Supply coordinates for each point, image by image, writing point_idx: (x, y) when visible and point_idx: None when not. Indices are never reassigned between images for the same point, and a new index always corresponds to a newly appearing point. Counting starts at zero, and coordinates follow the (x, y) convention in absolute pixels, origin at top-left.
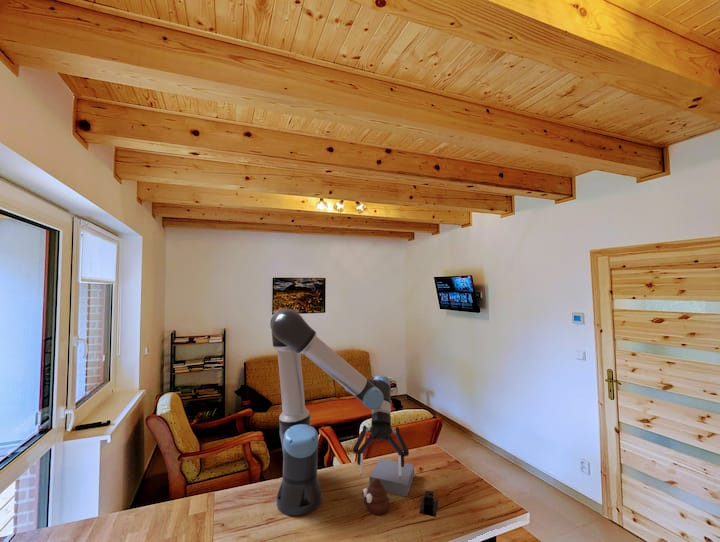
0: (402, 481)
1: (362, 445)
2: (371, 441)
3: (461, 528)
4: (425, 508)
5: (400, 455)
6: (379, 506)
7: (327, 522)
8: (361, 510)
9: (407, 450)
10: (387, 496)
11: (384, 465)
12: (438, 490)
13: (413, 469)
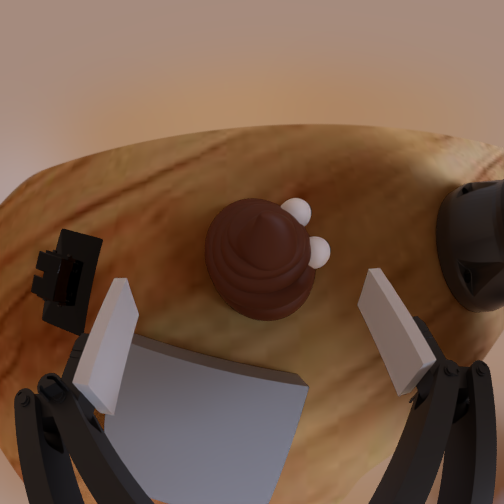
0: (137, 365)
1: (452, 417)
2: (379, 501)
3: (24, 197)
4: (79, 260)
5: (74, 381)
6: (245, 202)
7: (393, 167)
8: (312, 226)
9: (18, 408)
10: (211, 267)
11: (236, 481)
12: (40, 370)
13: None
